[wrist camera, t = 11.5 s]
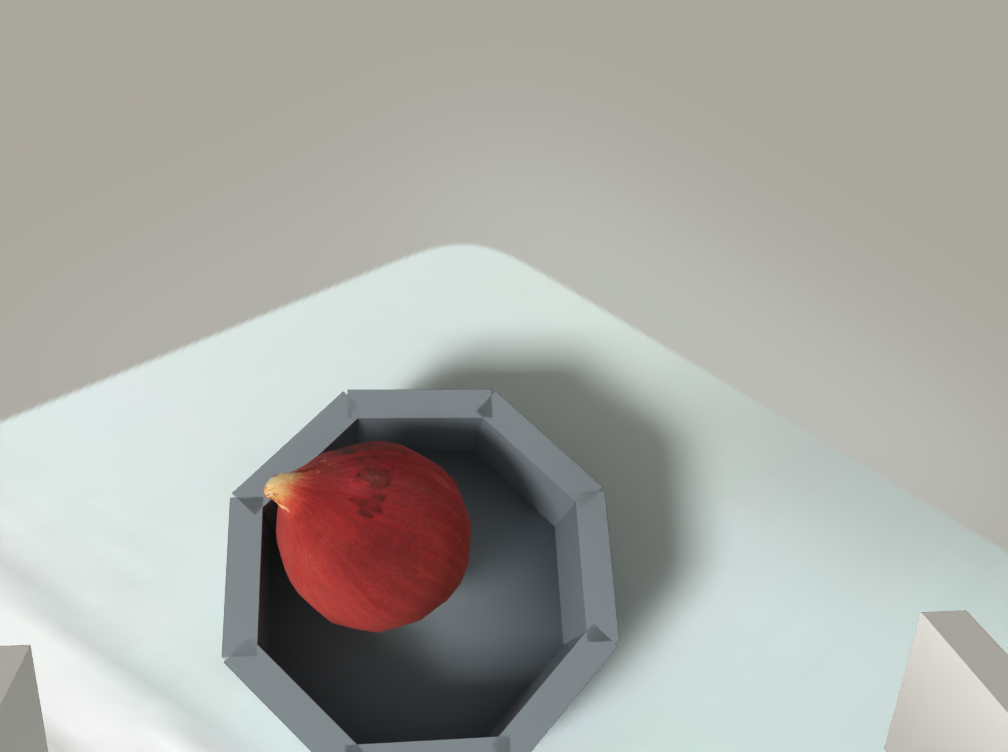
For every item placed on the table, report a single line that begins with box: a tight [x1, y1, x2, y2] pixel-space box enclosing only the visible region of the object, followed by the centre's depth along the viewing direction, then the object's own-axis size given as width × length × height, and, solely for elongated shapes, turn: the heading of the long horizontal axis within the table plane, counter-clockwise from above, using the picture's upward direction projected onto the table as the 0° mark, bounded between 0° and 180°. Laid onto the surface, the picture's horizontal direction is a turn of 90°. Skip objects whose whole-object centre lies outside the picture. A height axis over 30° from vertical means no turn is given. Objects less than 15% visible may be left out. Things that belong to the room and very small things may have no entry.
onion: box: [263, 441, 471, 633], centre depth 30 cm, size 6×6×8 cm
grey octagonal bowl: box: [222, 390, 619, 752], centre depth 32 cm, size 12×12×4 cm
